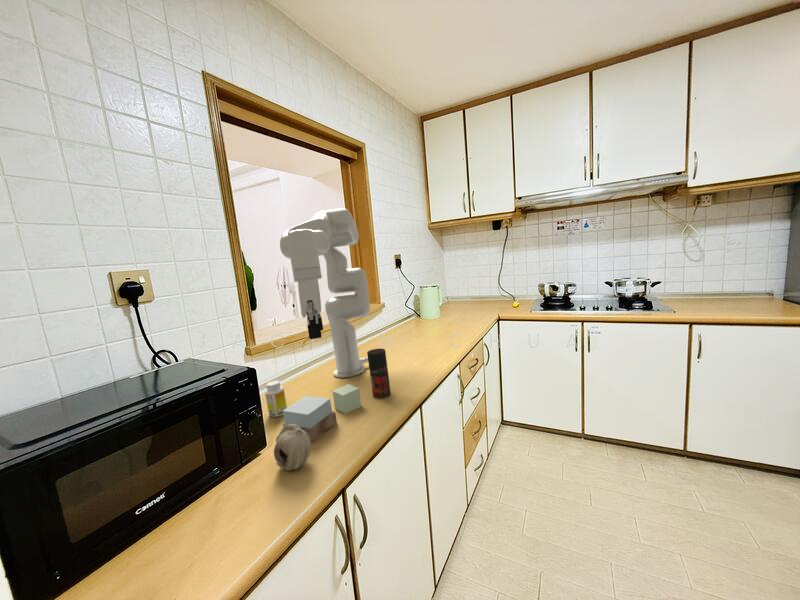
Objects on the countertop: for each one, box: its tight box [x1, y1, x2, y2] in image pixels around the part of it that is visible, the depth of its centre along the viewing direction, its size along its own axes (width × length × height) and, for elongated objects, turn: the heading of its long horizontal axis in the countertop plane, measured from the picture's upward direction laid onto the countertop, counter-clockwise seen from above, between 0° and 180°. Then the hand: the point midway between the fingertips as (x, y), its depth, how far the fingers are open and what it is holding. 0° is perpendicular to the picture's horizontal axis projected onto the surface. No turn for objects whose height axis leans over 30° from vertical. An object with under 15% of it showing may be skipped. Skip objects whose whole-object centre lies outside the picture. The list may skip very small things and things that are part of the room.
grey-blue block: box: [282, 395, 333, 429], centre depth 90 cm, size 9×9×4 cm
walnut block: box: [282, 410, 338, 444], centre depth 90 cm, size 10×10×4 cm
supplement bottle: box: [264, 380, 288, 418], centre depth 103 cm, size 6×6×10 cm
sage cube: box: [332, 383, 363, 415], centre depth 102 cm, size 6×6×6 cm
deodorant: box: [366, 348, 392, 400], centre depth 107 cm, size 6×6×15 cm
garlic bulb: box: [273, 424, 312, 472], centre depth 75 cm, size 9×8×10 cm
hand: (316, 334), depth 93 cm, fingers open, 9 cm apart
